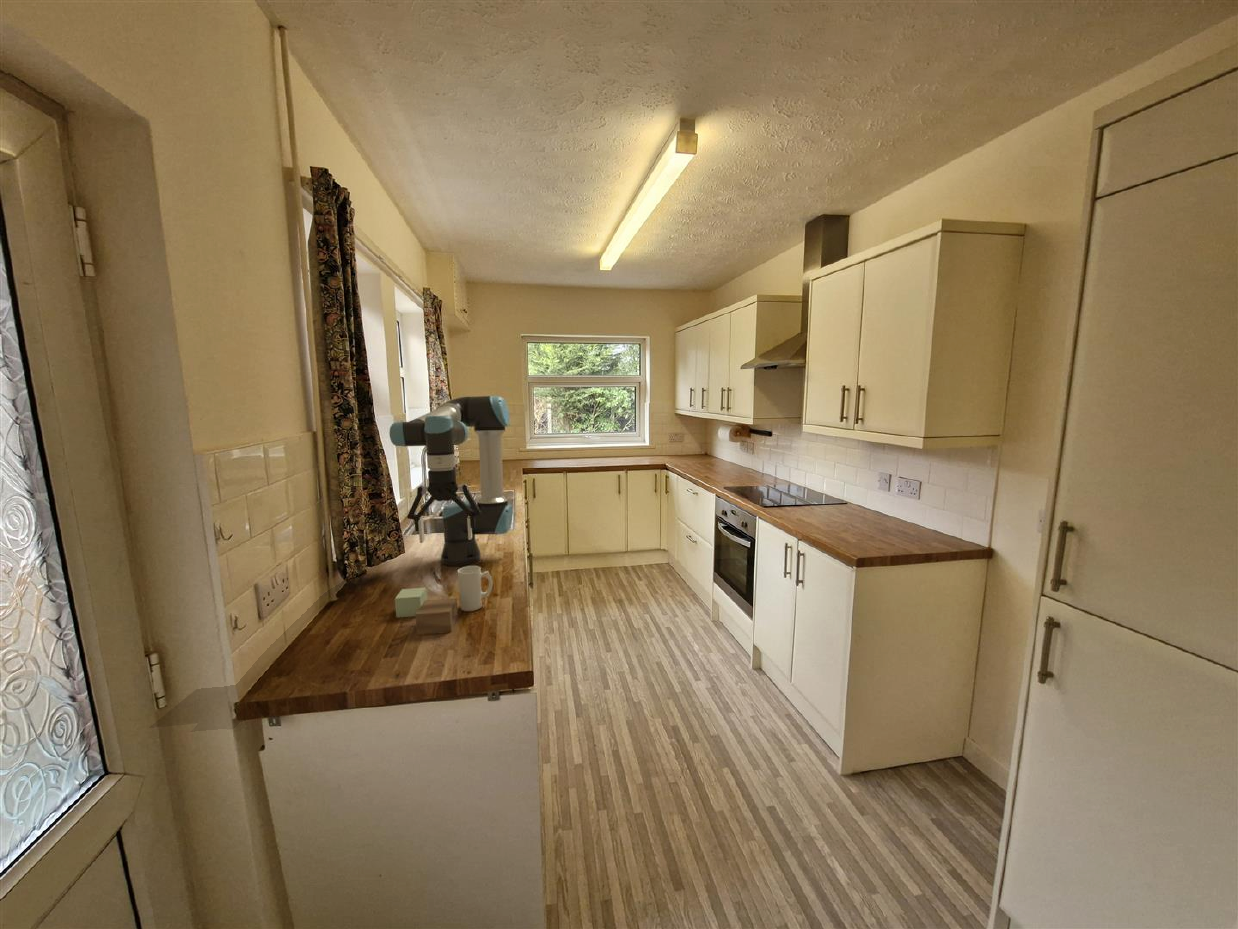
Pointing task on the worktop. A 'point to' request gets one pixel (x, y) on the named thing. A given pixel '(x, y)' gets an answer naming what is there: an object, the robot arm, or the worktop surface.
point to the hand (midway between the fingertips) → (446, 540)
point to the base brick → (436, 616)
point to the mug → (472, 587)
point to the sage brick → (409, 601)
